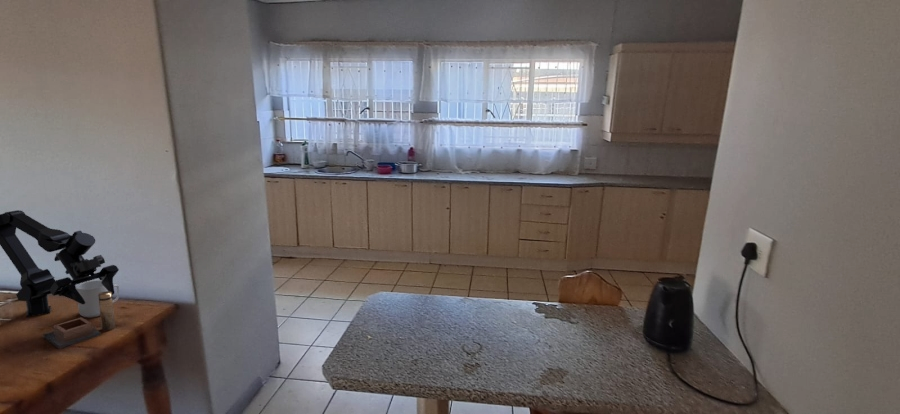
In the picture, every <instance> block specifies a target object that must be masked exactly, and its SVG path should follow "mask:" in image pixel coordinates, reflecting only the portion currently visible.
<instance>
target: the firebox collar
mask: <svg viewBox="0 0 900 414" xmlns="http://www.w3.org/2000/svg"><path fill="white" fill-rule="evenodd" d="M98 336H99V337H100V336H101V331H99V330H97V329H96V328H94V327H93V323H92V322H90V321H89V320H87V319H86V318H85V317H83V316H82V317H81V316H80V317H78V318H75V319H72V320H67V321H64V322H62V323H58V324H54V325H53V331H51V332H47V333H43V334H42V337H43V338H44V339H45V340H46V339H47V341H48V342H49V343H50V342H51V344H52V345H53V346H54V347H56V348H57V349H62V348H65V347H69V346H71V345H74V344H78V343H81V342H84V341H87V340H90V339H92V337H93V338H96V337H98ZM80 341H81V342H80Z"/></svg>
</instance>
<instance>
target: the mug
mask: <svg viewBox="0 0 900 414" xmlns="http://www.w3.org/2000/svg"><path fill="white" fill-rule="evenodd" d="M101 282H102V280H100V279H98V280H90V281H87V282H83V283H80V284H77V285H76V289H77V291H78V292H79V294H80V295H81V296H82V298H83V299H84V301H85V304H81V303H79V302H77V306H78V308H77V309H78V314H79V315H80V316H82V318H96V317H100V307H99V297H98V294H99V293H101V292H106V291H108V290H107V289H106V288H105V287H104V286H103V284H102V283H101ZM113 286H114V287H116V297H115V298H114V299H112V301H113V304H114V303H115V302H117V301H118V300H119V298H120V292H119V291H120V290H119V286H120V285H119V284H113Z"/></svg>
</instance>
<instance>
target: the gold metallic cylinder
mask: <svg viewBox="0 0 900 414" xmlns="http://www.w3.org/2000/svg"><path fill="white" fill-rule="evenodd" d="M98 297H99V307H100V316H99V317H100V323H101V324H100V325H101V331H103V332H109V330H110V331H112V329H113V330H114V329H116V324H115V313H114V303H113V295H112V292H110V291H106V292H101V293H99V294H98Z"/></svg>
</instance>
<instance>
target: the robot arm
mask: <svg viewBox="0 0 900 414" xmlns="http://www.w3.org/2000/svg"><path fill="white" fill-rule="evenodd" d="M17 229H18V230H20V231H21V232H22V233H24V234H27V235H28V236H30V237H32V238H33V239H35V240H36V241H37V245H38V246H39V247H40V248H41V249H42V250H44V251H46V252H47V253H52V252H53V253H54V252H56V253H55V257H54V262H58V261H60V263H61V264H62V265H63V267H64V268H65V269H66V270H65V272H64V273H65V274H66V275H69V276H70V277H68V276H65V277H63V278H60V279H55V276H54V275H52V273H51V271H50V270H49V269H47V268H45V269H42V268H39V267H38V265H37V264H36V262H35V261H34V259H33V257H31V255H30V254H29V252H28V251H27V249H26V247H25V246H24V245H23V243H22V242H21V240H20V239H19V238H18V236H17V234H16V231H17ZM95 243H96V238H95V236H93V235H91V234H89V233H86V232H83V231H82V230H76V231H74V232H73V233H72V235H71V234H69V233H68V232H66V231H63V230H62V229H61V230H60V229H55V228H50V227H48V226H46V225H44V224H42V223H41V222H40V221H37V220H36V219H35V218H33V217H31V216H29V215H27V214H26V213H25V212H24V211H23V210H12V211H5V212H4V213H1V214H0V247H1V249H2V251H4V253H5V254H6V255H7V257H8V259H9V260H10V262H11V263H12V265H13V266H14V267H15V270H17V272H18V273H19V274H20V281H19V282H20V283H19V285H20V287H21V288H20V290H19V291H18V292H17V293H16V294H15V296H16V298H17V300H18V301H23V302H25V305H26V313H25V316H24V317H25V318H31V317H35V316H42V315H46V314H50V313H51V311H52V310H51V309H52V306H51V305H49V299H48V295H52V296H59V297H65V298H68V299H71V300H73V301H75V302H77V303H78V302H79V303H81V304H85V301H84V299H83V298H82V296H81V295H80V294H79V292H78V291H77V289H76V287H77V285H79V284H82V283H85V282H89V281H95V280H96V279H98V280H102V282H101V283H102V284H103V286H104V287H105V288H106V289H107V290H108V291H110V292H112V296H113V295H115V286H113V285H114V282H113V281H114V277H115V275H117V273H118V271H120V269H119V268H118V266H117V265H115V264H111V265H107V266H104V267H102V265H104V264H105V263H106V261H105V258H104V257H103V256H102V254H98V255H95V256H93V258H92V259H88V258H85V257H84V256H83V255H85V254H87V252H88V251H89V250H90V249H91V248H92V247H93V246H94V244H95ZM57 251H59V252H57ZM101 267H102V268H101ZM97 268H101V269H100V271H98V269H97ZM96 271H98V272H96ZM71 278H72V279H71Z"/></svg>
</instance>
